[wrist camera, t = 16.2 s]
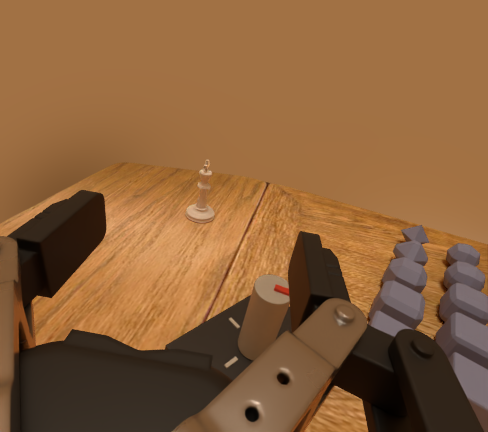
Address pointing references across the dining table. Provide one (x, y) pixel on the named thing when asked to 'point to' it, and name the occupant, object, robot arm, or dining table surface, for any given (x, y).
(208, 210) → the chess piece
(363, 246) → the dining table surface
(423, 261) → the blocks
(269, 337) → the knob
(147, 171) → the dining table surface
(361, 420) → the dining table surface
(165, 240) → the dining table surface
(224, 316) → the panel
